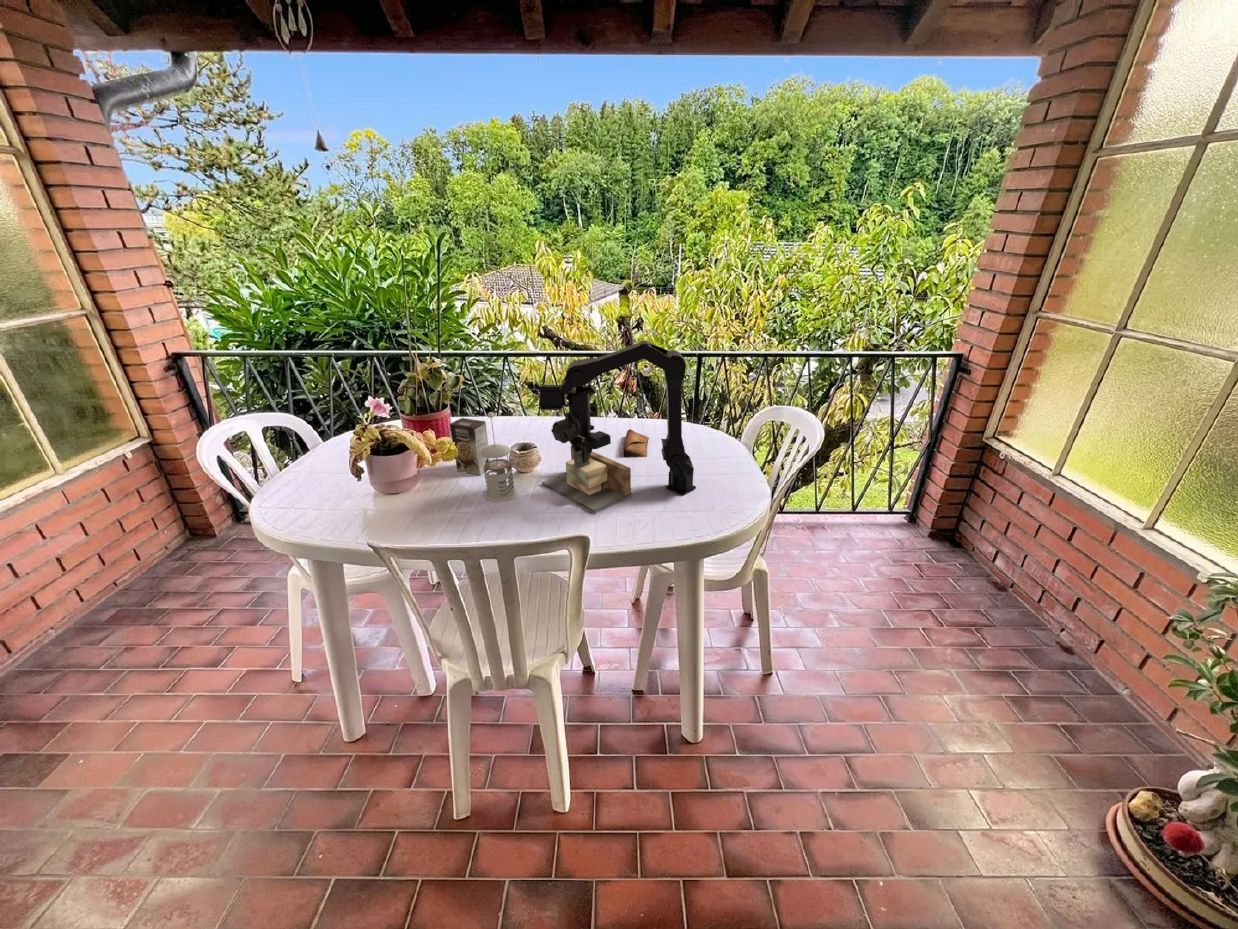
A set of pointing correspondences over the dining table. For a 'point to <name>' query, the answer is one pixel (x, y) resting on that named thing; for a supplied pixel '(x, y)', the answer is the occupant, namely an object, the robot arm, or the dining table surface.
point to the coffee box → (470, 445)
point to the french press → (498, 473)
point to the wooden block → (585, 474)
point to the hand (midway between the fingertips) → (582, 461)
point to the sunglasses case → (635, 444)
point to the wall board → (610, 491)
